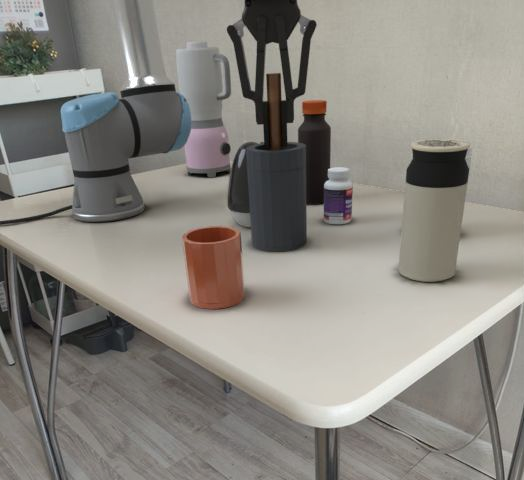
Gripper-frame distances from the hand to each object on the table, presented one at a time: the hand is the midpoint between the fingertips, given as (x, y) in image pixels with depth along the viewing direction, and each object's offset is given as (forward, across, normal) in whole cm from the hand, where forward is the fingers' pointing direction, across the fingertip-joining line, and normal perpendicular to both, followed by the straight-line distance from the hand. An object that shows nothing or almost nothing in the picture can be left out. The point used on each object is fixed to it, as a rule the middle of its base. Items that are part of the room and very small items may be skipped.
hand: (276, 145), depth 85 cm
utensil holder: (+16, 0, 0) cm, 16 cm away
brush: (+14, 0, 0) cm, 14 cm away
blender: (+16, -20, +62) cm, 67 cm away
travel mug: (+16, +22, -16) cm, 32 cm away
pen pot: (+16, -8, -23) cm, 29 cm away
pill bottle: (+16, +11, +12) cm, 23 cm away
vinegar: (+16, +7, +28) cm, 33 cm away
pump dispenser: (+16, -5, +12) cm, 21 cm away
